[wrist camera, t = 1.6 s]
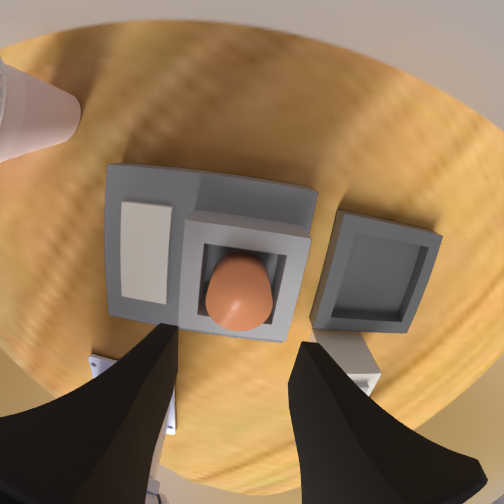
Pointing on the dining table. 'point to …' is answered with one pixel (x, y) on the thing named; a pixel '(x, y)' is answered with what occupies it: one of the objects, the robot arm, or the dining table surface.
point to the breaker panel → (200, 243)
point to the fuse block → (350, 356)
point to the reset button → (239, 292)
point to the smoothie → (33, 113)
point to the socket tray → (373, 274)
